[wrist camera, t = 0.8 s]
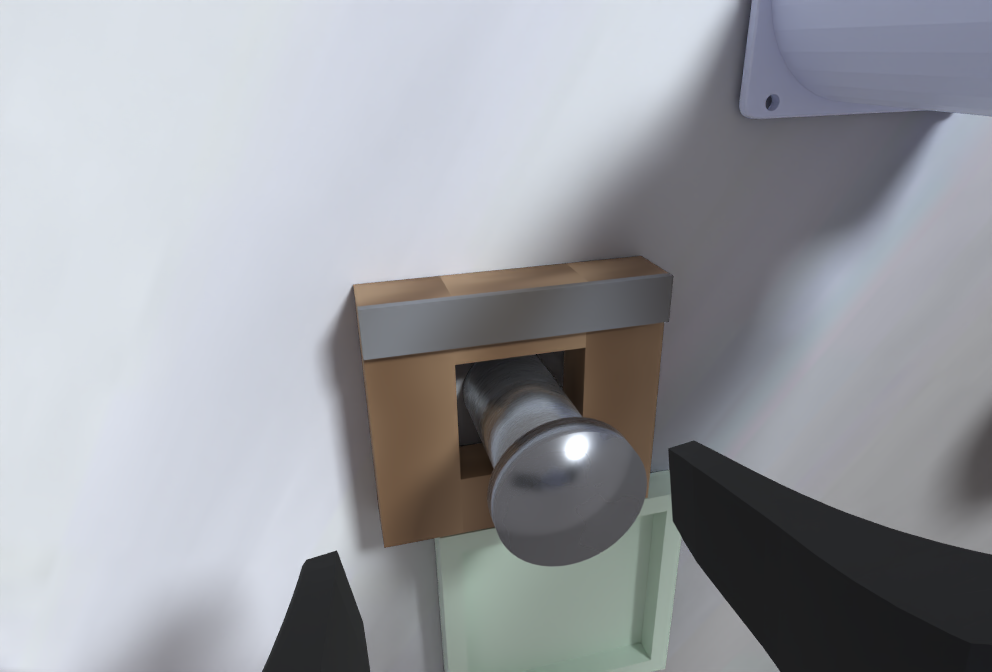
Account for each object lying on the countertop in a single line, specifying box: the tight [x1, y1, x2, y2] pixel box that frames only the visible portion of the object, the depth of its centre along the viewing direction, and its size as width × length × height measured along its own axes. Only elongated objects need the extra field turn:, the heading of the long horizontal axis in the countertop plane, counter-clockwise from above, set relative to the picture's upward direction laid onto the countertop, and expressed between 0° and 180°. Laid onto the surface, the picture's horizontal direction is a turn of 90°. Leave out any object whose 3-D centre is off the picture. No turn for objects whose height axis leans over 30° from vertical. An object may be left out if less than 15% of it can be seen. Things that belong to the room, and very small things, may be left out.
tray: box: [435, 470, 681, 672], centre depth 28 cm, size 10×10×2 cm
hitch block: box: [353, 256, 673, 548], centre depth 23 cm, size 10×9×2 cm
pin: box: [463, 354, 647, 567], centre depth 21 cm, size 4×4×7 cm
